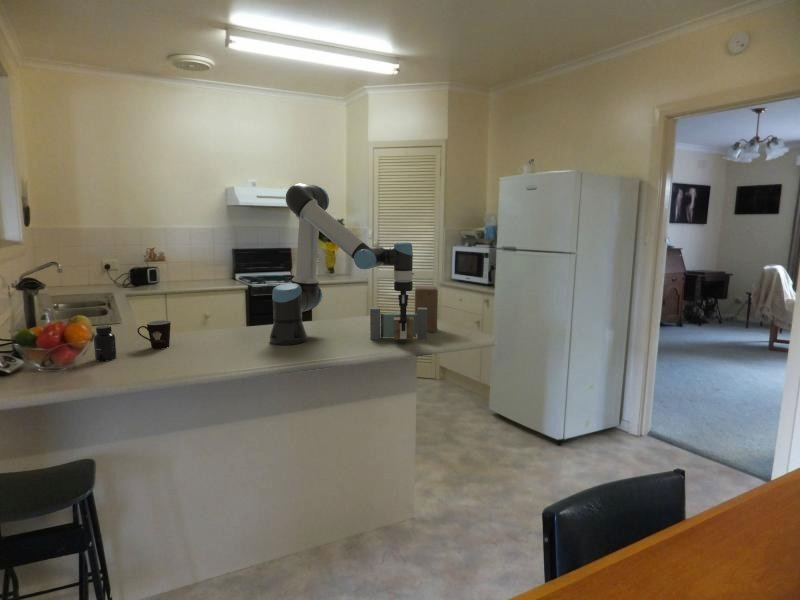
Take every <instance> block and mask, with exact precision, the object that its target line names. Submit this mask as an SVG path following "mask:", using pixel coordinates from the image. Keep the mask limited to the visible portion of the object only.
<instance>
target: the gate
mask: <svg viewBox="0 0 800 600" xmlns="http://www.w3.org/2000/svg"><path fill="white" fill-rule="evenodd" d="M406 315H407V317H413V338H417V332H416V314H415V313H406ZM394 317H400V313H380V338H394Z"/></svg>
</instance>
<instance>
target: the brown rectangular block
mask: <svg viewBox="0 0 800 600" xmlns="http://www.w3.org/2000/svg"><path fill="white" fill-rule="evenodd" d="M402 320H405V319H402ZM406 320H407V322H406V323H407V339H406V340H414V337H413V317H406ZM398 322H400V317H394V337H393V339H394V340H401V339H400V323H398Z"/></svg>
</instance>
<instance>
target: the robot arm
mask: <svg viewBox="0 0 800 600" xmlns="http://www.w3.org/2000/svg"><path fill="white" fill-rule="evenodd" d="M285 203H286V205H287V207H288V209H289V210H290V212H292V213H293V214H294V215H295V217H296V219H298V234H297V235H298V236H297V248H296V251H297V252H296V266H295V275H294V277H293V278H292V279H291V283H285V284H279V285H277V286H274V288H273V289H272V296H271V297H272V298H271V299H272V313H273V314H272V316H273V324H272V328H271V331H270V335H269V343H271V344H273V345H277V346H279V345H280V346H290V345H292V346H293V345H299V344H302V343H306V342H307V341H308V334H307V331H306V329H305V326H304V323H303V312H306V311H311V310H313V309H314V308H316V307H318V306H319V304H320V303H321V301H322V300H323V291H322V289H321V287H320V285H319V283H320V281H319V279H318V278H317V277H316V276H317V275H316V274H317V262H318V261H317V259H318V248H319V235H320V234H319V233H322V235H324V236H325V237H326V238H327V239H329V240H330V241H331V242H332V243H334V245H336V246H337V247H339V249H341V251H343V252H344V253H346V255H348V256H349V257H350V258H351V259H353V262H354V264H355V266H356V267H357V268H359V269H360V270H369V269H373V268H377V267H383V266H384V267H388V266H389V267H393V280H394V282H393V290H394V291H395V292H400V294H398V298H397V299H398V305H399V308H400V309H399V311H400V312H399V314H400V322H398V323H400V339H399V340H408V339H407V323H406V322H407V320H406V317H407V315H406V314H407V307H408V305H409V304H408V302H409V301H408V300H409V294H407V292H412V291H413V287H414V286H413V285H414V283H413V281H412V280H413V276H414V275H415V273H414V272H413V261H414V253H413V244H412V243H411V242H406V241H405V242H401V241H400V242H394V244H393V247H386V246H385V247H382V246H371V247H370V246H369V245H367V244H366V243H365V242H364V241H362V239H360V238H359V237H357V235H355V234H354V233H353V232H351V231H350V230H349V229H348V228H347V227H345V226H344V225H343V224H342V223H340V222H339V221H338V220H337V219H336V218H334V217H333V216H332V215H331V214H329V212H327V209H328V208H329V205H330V197H329V194H328V193H327V191H326V190H325V188H323V187H321V186H319V185H314V184H305V183H297V184H293V185H292V186H290V187H289V188H288V189H287V191H286V194H285ZM402 319H405V320H402Z"/></svg>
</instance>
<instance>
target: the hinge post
mask: <svg viewBox="0 0 800 600" xmlns="http://www.w3.org/2000/svg"><path fill="white" fill-rule="evenodd" d="M369 310H370V311H369V314H370V315H369V316H370V318H369V319H370V321H369V323H370V326H369V328H370V332H369V335H370V338H369V339H370V340H381V307H376V306H375V307H373V306H372V307H370V309H369Z"/></svg>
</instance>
